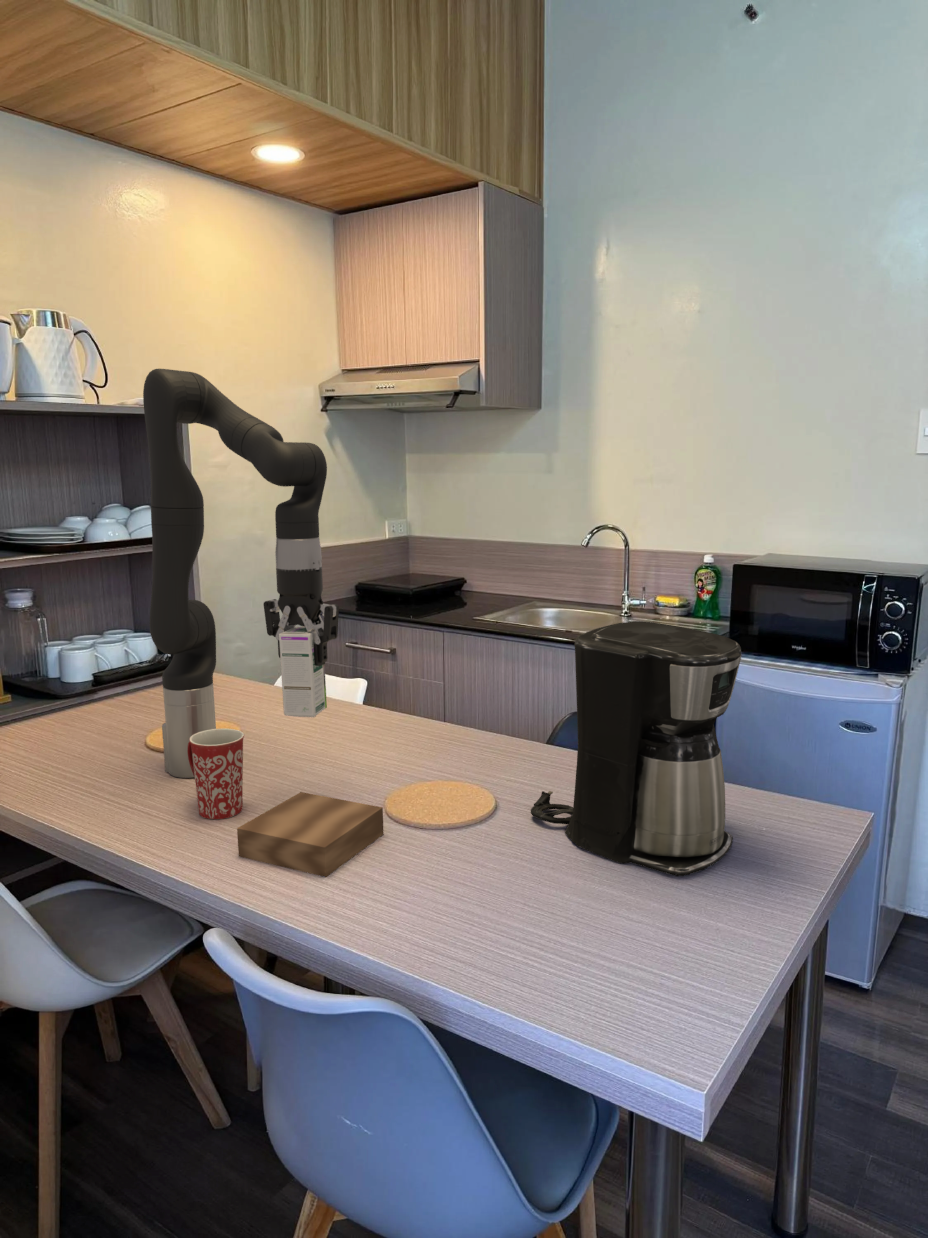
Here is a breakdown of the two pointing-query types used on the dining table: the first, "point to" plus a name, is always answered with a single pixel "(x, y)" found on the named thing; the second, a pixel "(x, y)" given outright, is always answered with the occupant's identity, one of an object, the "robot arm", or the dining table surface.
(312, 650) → the syrup box
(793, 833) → the dining table surface
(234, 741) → the mug
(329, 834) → the walnut riser
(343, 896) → the dining table surface
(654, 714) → the coffee maker
